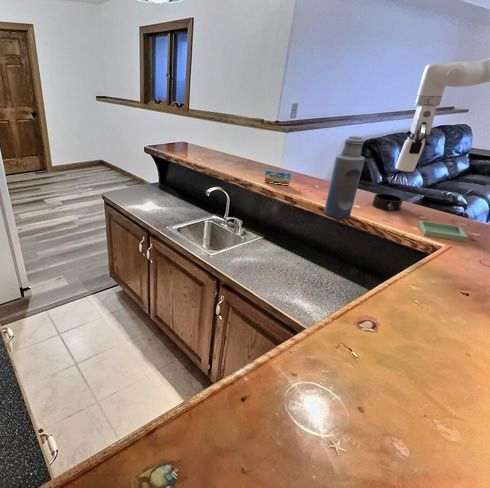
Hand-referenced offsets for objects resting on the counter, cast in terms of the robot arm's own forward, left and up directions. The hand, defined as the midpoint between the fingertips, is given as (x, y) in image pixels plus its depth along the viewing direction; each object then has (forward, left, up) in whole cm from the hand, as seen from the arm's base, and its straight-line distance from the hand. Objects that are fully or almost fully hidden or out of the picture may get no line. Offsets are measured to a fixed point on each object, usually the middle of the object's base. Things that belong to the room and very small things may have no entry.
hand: (412, 151), depth 133 cm
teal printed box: (+49, -17, -24) cm, 57 cm away
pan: (+2, +1, -24) cm, 24 cm away
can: (+1, 0, -7) cm, 7 cm away
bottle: (+21, +15, -24) cm, 36 cm away
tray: (-13, +19, -24) cm, 33 cm away
